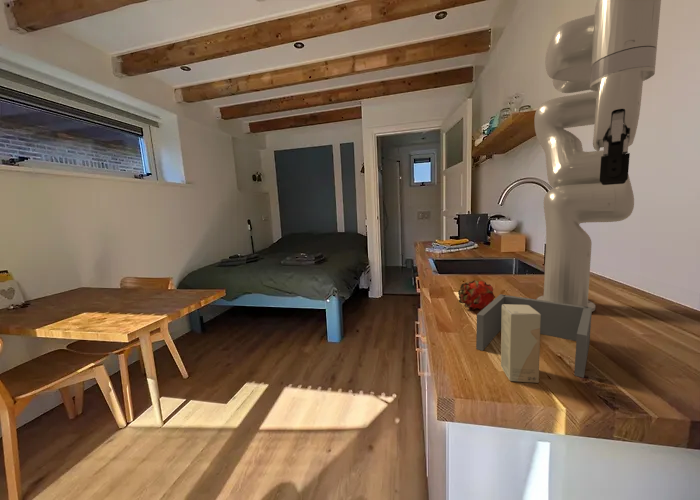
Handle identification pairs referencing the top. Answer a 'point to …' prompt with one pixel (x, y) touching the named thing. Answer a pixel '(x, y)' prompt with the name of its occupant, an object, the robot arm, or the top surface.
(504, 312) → the box
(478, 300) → the dragon fruit
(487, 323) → the u-shaped wall
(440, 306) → the top surface
